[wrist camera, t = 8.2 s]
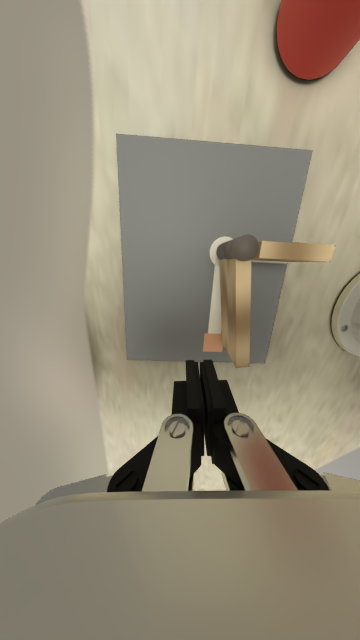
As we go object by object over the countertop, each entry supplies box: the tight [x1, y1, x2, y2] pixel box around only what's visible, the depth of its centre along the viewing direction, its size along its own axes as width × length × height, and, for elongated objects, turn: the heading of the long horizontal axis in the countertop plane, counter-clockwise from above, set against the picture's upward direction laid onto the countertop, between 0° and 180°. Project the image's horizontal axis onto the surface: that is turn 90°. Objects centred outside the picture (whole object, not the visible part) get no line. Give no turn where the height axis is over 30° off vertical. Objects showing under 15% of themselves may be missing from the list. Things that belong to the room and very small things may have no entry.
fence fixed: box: [251, 241, 336, 262], centre depth 16 cm, size 6×1×6 cm, turn 87°
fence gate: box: [216, 234, 259, 368], centre depth 17 cm, size 11×2×6 cm, turn 6°
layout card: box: [116, 134, 313, 363], centre depth 19 cm, size 18×22×1 cm
